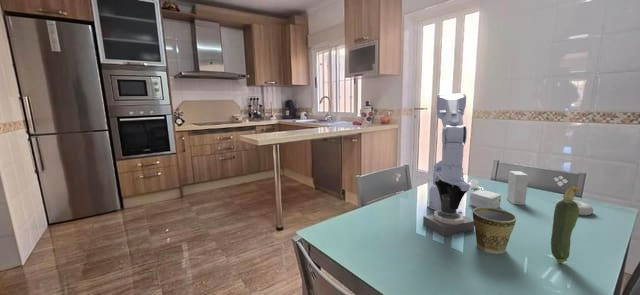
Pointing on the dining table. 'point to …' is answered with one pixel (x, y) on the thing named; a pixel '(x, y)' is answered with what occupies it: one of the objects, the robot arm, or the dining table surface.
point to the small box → (485, 199)
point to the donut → (583, 208)
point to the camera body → (448, 223)
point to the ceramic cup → (493, 228)
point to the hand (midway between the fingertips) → (449, 205)
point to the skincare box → (517, 187)
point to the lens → (446, 204)
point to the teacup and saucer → (474, 184)
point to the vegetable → (564, 225)
